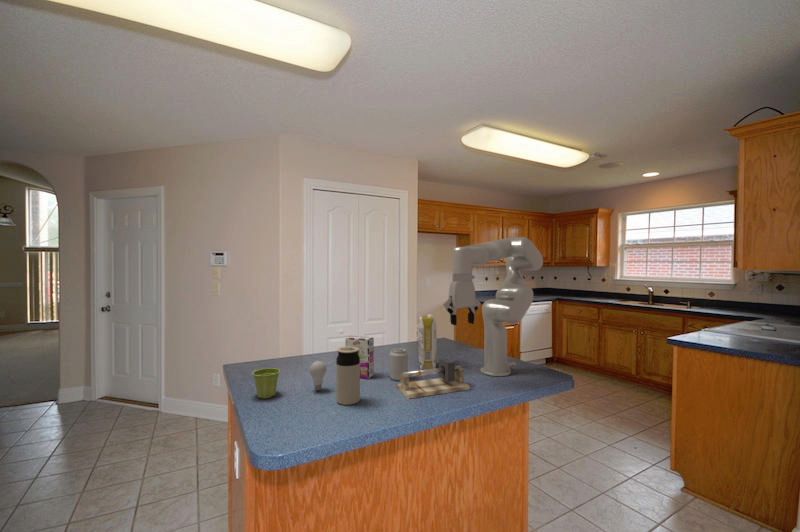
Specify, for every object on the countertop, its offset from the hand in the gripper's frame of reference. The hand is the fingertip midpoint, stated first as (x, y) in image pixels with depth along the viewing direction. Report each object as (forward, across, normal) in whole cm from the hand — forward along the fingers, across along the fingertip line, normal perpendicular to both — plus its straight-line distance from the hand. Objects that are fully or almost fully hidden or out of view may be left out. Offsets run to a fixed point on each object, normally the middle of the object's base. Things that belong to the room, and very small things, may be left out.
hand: (462, 323), depth 141 cm
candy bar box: (+24, +35, -25) cm, 49 cm away
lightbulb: (+24, +54, -14) cm, 60 cm away
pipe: (+18, +13, 0) cm, 22 cm away
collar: (+21, +7, 0) cm, 22 cm away
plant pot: (+24, +72, -16) cm, 77 cm away
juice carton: (+24, +3, -26) cm, 35 cm away
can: (+24, +21, -16) cm, 35 cm away
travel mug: (+24, +46, 0) cm, 51 cm away
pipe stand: (+24, +13, 0) cm, 27 cm away
